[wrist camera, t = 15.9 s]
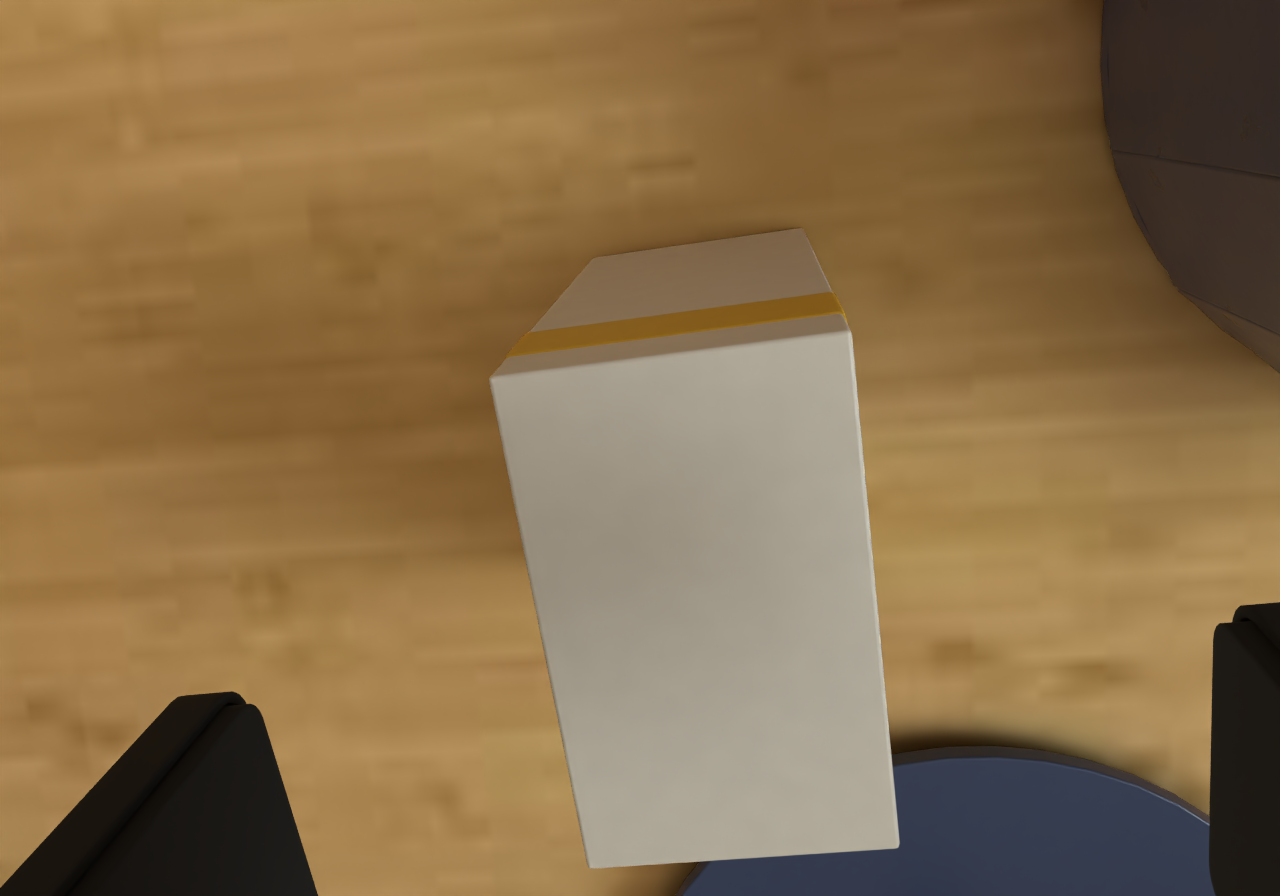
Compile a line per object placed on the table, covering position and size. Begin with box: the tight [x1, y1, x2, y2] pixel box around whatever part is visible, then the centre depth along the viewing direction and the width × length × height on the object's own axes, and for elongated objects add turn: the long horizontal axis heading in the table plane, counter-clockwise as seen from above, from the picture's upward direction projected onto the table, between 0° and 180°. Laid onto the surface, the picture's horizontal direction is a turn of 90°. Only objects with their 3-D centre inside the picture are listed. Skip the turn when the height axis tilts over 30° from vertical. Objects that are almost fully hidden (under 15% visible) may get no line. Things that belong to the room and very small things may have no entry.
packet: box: [489, 228, 900, 869], centre depth 19 cm, size 5×8×10 cm, turn 9°
